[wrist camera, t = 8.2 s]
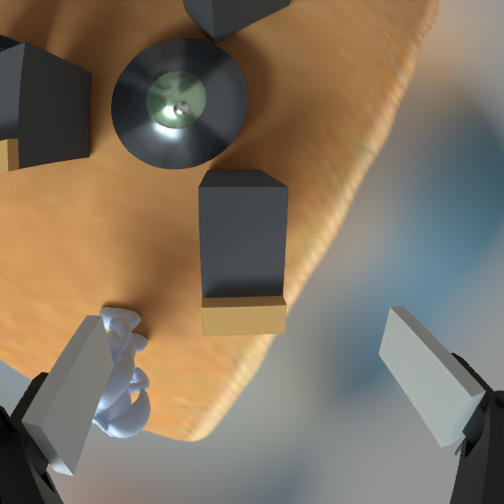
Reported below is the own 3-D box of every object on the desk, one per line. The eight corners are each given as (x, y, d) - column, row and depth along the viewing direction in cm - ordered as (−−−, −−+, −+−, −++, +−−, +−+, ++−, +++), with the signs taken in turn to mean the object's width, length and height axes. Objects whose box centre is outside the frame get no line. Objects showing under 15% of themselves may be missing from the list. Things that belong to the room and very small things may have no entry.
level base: (124, 54, 19) (109, 40, 16) (246, 47, 20) (251, 31, 17) (121, 170, 22) (105, 174, 19) (244, 166, 23) (248, 169, 20)
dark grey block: (207, 170, 23) (196, 190, 13) (260, 170, 23) (293, 190, 13) (209, 258, 25) (203, 336, 15) (258, 257, 26) (284, 333, 15)
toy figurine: (86, 298, 26) (28, 383, 14) (150, 292, 26) (113, 388, 15) (108, 358, 28) (72, 450, 17) (167, 355, 28) (150, 456, 17)
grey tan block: (50, 82, 19) (-34, 60, 8) (91, 73, 19) (15, 37, 9) (49, 162, 21) (-39, 181, 11) (89, 157, 22) (8, 171, 11)
